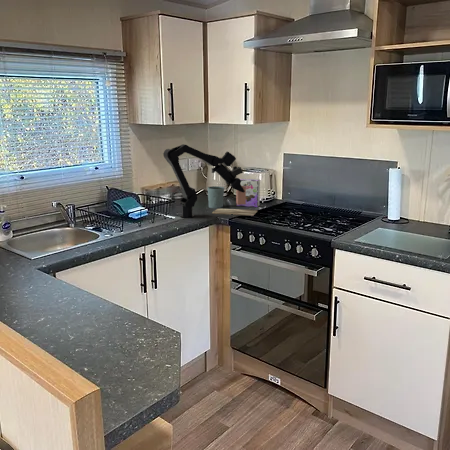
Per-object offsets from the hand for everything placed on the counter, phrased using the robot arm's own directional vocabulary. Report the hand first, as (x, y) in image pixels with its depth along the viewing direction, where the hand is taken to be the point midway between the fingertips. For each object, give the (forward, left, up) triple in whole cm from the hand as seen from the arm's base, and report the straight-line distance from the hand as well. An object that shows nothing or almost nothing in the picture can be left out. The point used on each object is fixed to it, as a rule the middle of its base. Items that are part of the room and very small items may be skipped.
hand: (243, 191), depth 272 cm
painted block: (-1, +1, -7) cm, 7 cm away
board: (-2, +4, -12) cm, 13 cm away
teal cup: (+11, +19, -12) cm, 25 cm away
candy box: (+19, +1, -12) cm, 22 cm away
